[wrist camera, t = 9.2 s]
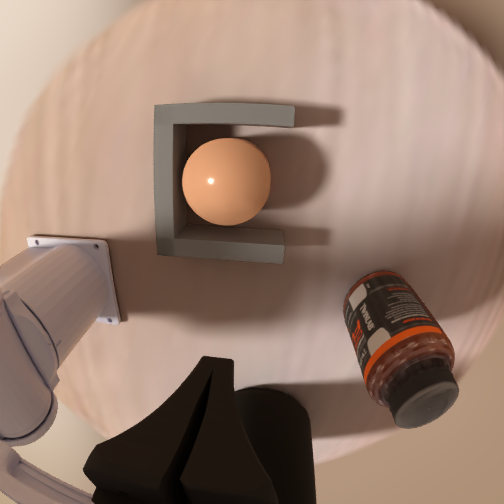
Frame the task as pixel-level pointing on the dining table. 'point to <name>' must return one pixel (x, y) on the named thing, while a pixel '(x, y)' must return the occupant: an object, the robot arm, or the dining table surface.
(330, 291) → the dining table surface
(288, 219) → the dining table surface
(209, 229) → the dock
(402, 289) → the supplement bottle
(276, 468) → the coffee jar
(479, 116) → the dining table surface
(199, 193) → the tan rounded knob
